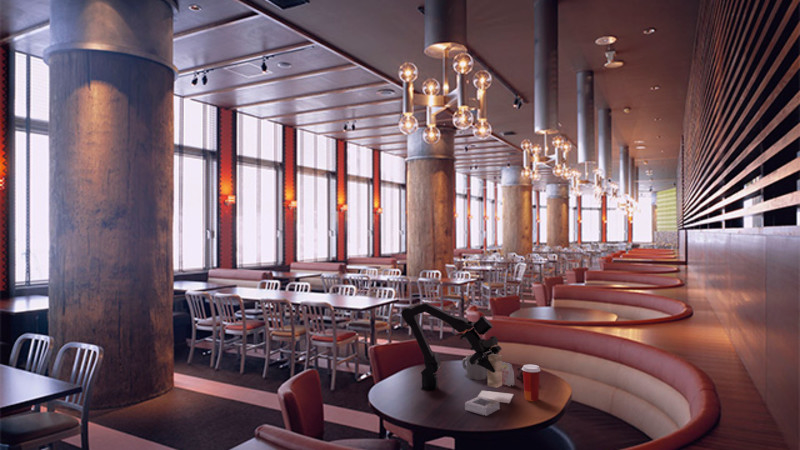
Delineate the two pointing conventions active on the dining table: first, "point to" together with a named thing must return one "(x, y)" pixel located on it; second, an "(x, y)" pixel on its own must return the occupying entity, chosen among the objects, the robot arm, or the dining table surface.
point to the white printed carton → (507, 374)
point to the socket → (482, 405)
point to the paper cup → (531, 382)
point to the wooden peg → (495, 377)
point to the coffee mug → (474, 369)
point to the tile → (497, 396)
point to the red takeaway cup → (520, 373)
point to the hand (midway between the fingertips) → (497, 370)
